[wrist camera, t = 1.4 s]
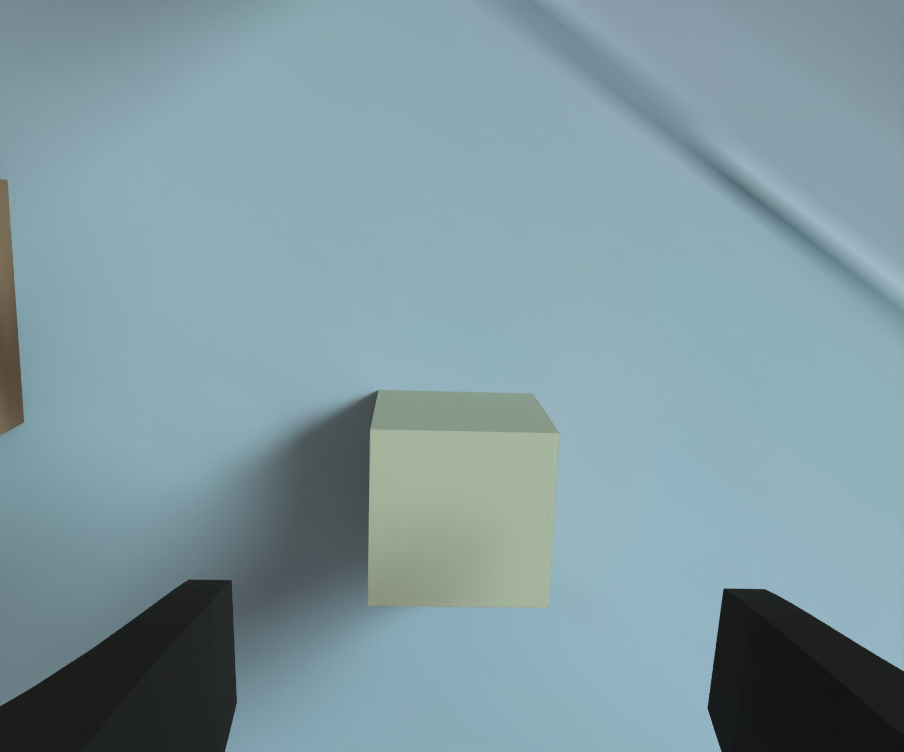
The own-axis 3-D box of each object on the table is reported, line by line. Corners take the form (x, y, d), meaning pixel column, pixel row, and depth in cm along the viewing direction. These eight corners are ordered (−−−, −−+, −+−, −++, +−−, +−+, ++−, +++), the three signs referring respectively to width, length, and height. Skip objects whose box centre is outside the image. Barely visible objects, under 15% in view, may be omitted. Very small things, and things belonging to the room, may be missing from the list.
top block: (524, 537, 22) (548, 607, 18) (376, 535, 22) (367, 605, 18) (532, 392, 21) (559, 433, 17) (378, 389, 21) (370, 429, 17)
